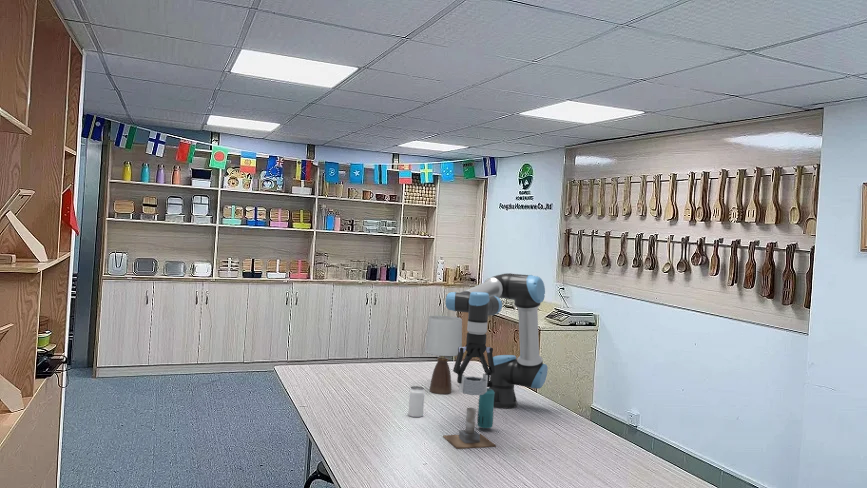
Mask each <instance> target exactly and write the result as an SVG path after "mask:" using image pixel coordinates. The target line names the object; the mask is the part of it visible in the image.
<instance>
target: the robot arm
mask: <svg viewBox="0 0 867 488" xmlns="http://www.w3.org/2000/svg"><path fill="white" fill-rule="evenodd" d="M545 294H546V288H545V282H544V281H543V279H542V278H541V277H540V276H538V275H537V276H536V275H532V274H518V273H512V272H511V273H501V274H497V275H494V276H491V277H488V278H487V279H486V280H484V282H483V283H479V284H477V285H476V286H472V287H470V288H469V289H468V288H467V289H465V290H464V291H463V290H462V291H461V292H457V291H452V292H448V294H446V297H445V307H446V309H447V310H448V311H453V312H459V313H467V315H468V318H467V329H466V331H467V333H466V340H465V342H466V344H465V346H462V347H458V355H457V356H456V359H455V363H454V366H453V369H452V372H453V373H455V374H457V379H456V380H457V381H456V383H458V392H459V393H461V394H463V389H464V377H465V374H464V373H465V370H466V368H467V367H468V365H469V363H470V361H471V360H472V359H474V358H478V359H479V361H480V363H481V366H482V368H483V371H484V373H483V374H482V378H483V379H485V380H486V392H487V388H490V389H492V390H493V391H494V392H495V394H494V407H493V408H499V409H513V408H516V407H517V405H518V403H517V401H518V400H517V397H516V393H515V386H520V387H525V388H531V389H537V390H539V389H542V387H543V386H544V384H545V382H546V380H547V375H548V369H549V368H548V365H547V364H546V363H543V362H544V361H543V357H542V356H541V355H540V348H539V347H540V343H539V340H540V339H539V319H538V318H539V317H538V316H539V315H538V309H539V307H540V306H541V304H542V303H543V302H544V299H545ZM501 299H505V300H511V301H512V300H513V301H514V306H515V307H516V308H517V313H518V334H519V337H518V338H519V354H520V355H519V356H518V357H517V356H516V355H513V354H500V355H495V356H493V351H494V348H493V347H491V346H488V347H487V345H486V343H487V334H486V333H487V332H488V322H489V321H488V320H489V318H488V317H489V316H495V315H497V314H499V313H500V312H501V310H502V309H503V302H502V300H501ZM465 352H466V354H465V356H464V353H465ZM485 352H486V356H487V360H486V357H485V354H484V353H485ZM463 357H464V359H463ZM487 363H488V364H487ZM489 381H492V385H493V386H492V387H487V383H489Z"/></svg>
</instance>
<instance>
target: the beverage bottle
mask: <svg viewBox="0 0 867 488" xmlns="http://www.w3.org/2000/svg"><path fill="white" fill-rule="evenodd" d="M492 386H493V385H492V381H490V380H489V383H487V392H485V394H483V395H478V404H477V405H478V411H477V418H476V419H477V423H476V424H477V426H478V427H479V428H482V429H489V428H490V429H491V428H492V427H493V425H494V422H493V421H494V408H495V407H494V394H495V392H494V391H493V390H492V389H490V388H489V387H492Z"/></svg>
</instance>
